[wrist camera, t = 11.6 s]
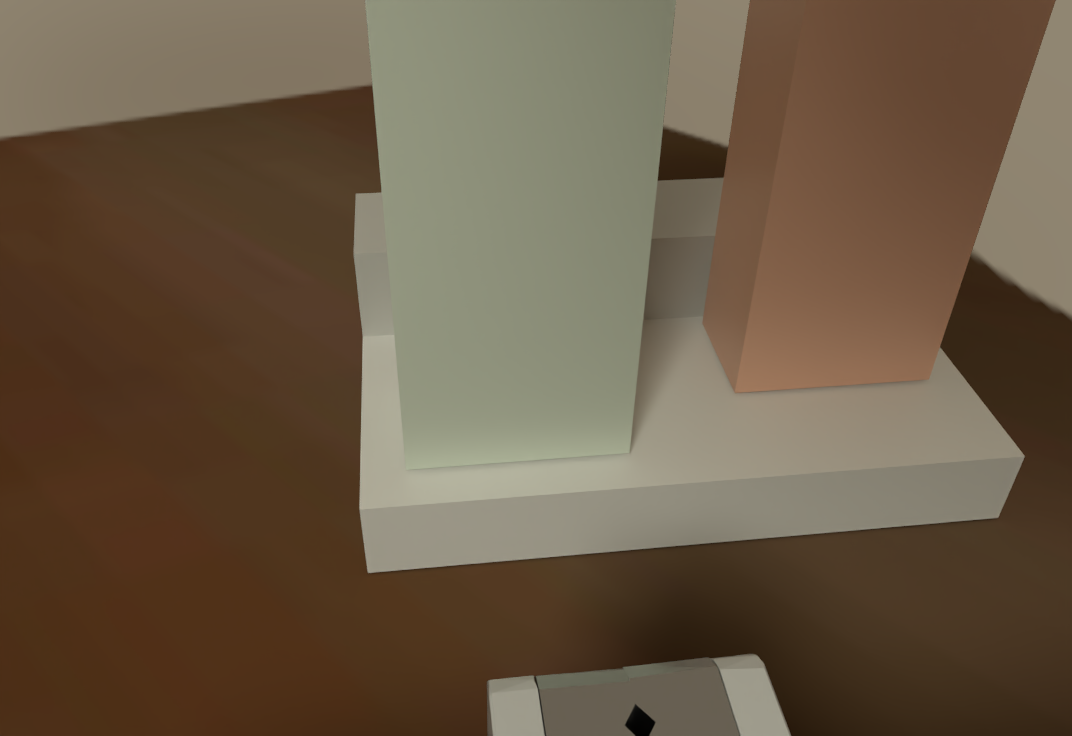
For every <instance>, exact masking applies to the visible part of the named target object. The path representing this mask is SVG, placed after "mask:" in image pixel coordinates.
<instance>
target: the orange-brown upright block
mask: <svg viewBox="0 0 1072 736" xmlns="http://www.w3.org/2000/svg"><path fill="white" fill-rule="evenodd" d="M1055 1H1056V0H750V4H749V10H748V17H747V25H746V31H745V38H744V45H743V52H742V58H741V65H740V71H739V78H738V85H737V92H736V98H735V105H734V112H733V119H732V126H731V132H730V139H729V146H728V153H727V159H726V166H725V173H724V180H723V186H722V193H721V200H720V207H719V213H718V220H717V227H716V234H715V241H714V247H713V254H712V261H711V268H710V274H709V281H708V288H707V295H706V301H705V308H704V315H703V322H702V324H703V326H704V328H705V330H706V332H707V334H708V336H709V339H710V341H711V343H712V345H713V347H714V349H715V352H716V354H717V356H718V358H719V360H720V362H721V364H722V367H723V369H724V371H725V373H726V375H727V377H728V379H729V382H730V384H731V386H732V388H733V390H734V392H735V393H742V392H757V391H771V390H785V389H800V388H814V387H828V386H843V385H857V384H872V383H886V382H900V381H915V380H929V378H930V375H931V372H932V369H933V366H934V363H935V360H936V357H937V354H938V351H939V348H940V345H941V342H942V339H943V336H944V333H945V330H946V327H947V324H948V321H949V318H950V315H951V312H952V309H953V306H954V303H955V300H956V297H957V294H958V291H959V288H960V285H961V282H962V279H963V276H964V273H965V270H966V267H967V264H968V261H969V258H970V255H971V252H972V249H973V246H974V243H975V240H976V237H977V234H978V231H979V228H980V225H981V222H982V219H983V216H984V213H985V210H986V207H987V204H988V201H989V198H990V195H991V192H992V189H993V186H994V183H995V180H996V177H997V174H998V171H999V168H1000V165H1001V162H1002V159H1003V156H1004V153H1005V150H1006V147H1007V144H1008V141H1009V138H1010V135H1011V132H1012V129H1013V126H1014V123H1015V120H1016V117H1017V114H1018V111H1019V108H1020V105H1021V102H1022V99H1023V96H1024V93H1025V90H1026V87H1027V84H1028V81H1029V78H1030V75H1031V73H1032V70H1033V66H1034V63H1035V60H1036V57H1037V55H1038V52H1039V49H1040V45H1041V42H1042V39H1043V36H1044V34H1045V31H1046V28H1047V25H1048V21H1049V18H1050V15H1051V13H1052V10H1053V7H1054V4H1055Z"/></svg>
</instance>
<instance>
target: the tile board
mask: <svg viewBox="0 0 1072 736" xmlns="http://www.w3.org/2000/svg"><path fill="white" fill-rule="evenodd" d="M723 180H724V178H708V179H685V180H662V181H657V190H656V200H655V209H654V219H653V229H652V239H651V248H650V258H649V268H648V278H647V287H646V297H645V307H644V317H643V326H642V336H641V346H640V356H639V365H638V375H637V385H636V395H635V404H634V414H633V424H632V434H631V443H630V453H623V454H609V455H596V456H583V457H570V458H557V459H544V460H530V461H517V462H504V463H491V464H478V465H464V466H451V467H438V468H425V469H412V470H406V465H405V453H404V442H403V430H402V419H401V407H400V396H399V384H398V373H397V361H396V350H395V338H394V327H393V315H392V304H391V292H390V281H389V269H388V258H387V246H386V235H385V223H384V212H383V200H382V193H364V194H356V205H355V232H354V261H355V270H356V279H357V288H358V297H359V306H360V315H361V324H362V333H363V358H362V410H361V462H360V517H361V524H362V532H363V539H364V547H365V555H366V562H367V570H368V573H373V572H384V571H396V570H407V569H418V568H430V567H441V566H453V565H464V564H476V563H487V562H498V561H510V560H521V559H533V558H544V557H556V556H567V555H578V554H590V553H601V552H613V551H624V550H636V549H647V548H659V547H670V546H681V545H693V544H704V543H716V542H727V541H739V540H750V539H761V538H773V537H784V536H796V535H807V534H819V533H830V532H842V531H853V530H864V529H876V528H887V527H899V526H910V525H922V524H933V523H944V522H956V521H967V520H979V519H990V518H998V517H999V515H1000V512H1001V510H1002V508H1003V505H1004V503H1005V501H1006V499H1007V496H1008V494H1009V492H1010V489H1011V487H1012V485H1013V483H1014V480H1015V478H1016V476H1017V473H1018V471H1019V469H1020V467H1021V464H1022V462H1023V460H1024V457H1025V456H1024V454H1023V453H1022V452H1021V451H1020V449H1019V448H1018V447H1017V445H1016V444H1015V443H1014V442H1013V440H1012V439H1011V438H1010V436H1009V435H1008V434H1007V433H1006V431H1005V430H1004V429H1003V427H1002V426H1001V425H1000V424H999V422H998V421H997V420H996V419H995V417H994V416H993V415H992V413H991V412H990V411H989V410H988V408H987V407H986V406H985V404H984V403H983V402H982V401H981V399H980V398H979V397H978V395H977V394H976V393H975V392H974V390H973V389H972V388H971V386H970V385H969V384H968V383H967V381H966V380H965V379H964V377H963V376H962V375H961V374H960V372H959V371H958V370H957V368H956V367H955V366H954V365H953V363H952V362H951V361H950V359H949V358H948V357H947V356H946V354H945V353H944V352H943V350H942V349H941V348H939V351H938V354H937V357H936V360H935V363H934V366H933V369H932V372H931V375H930V378H929V380H915V381H900V382H886V383H872V384H857V385H843V386H828V387H814V388H800V389H785V390H771V391H757V392H742V393H735V392H734V390H733V388H732V386H731V384H730V382H729V379H728V377H727V375H726V373H725V371H724V369H723V367H722V364H721V362H720V360H719V358H718V356H717V354H716V352H715V349H714V347H713V345H712V343H711V341H710V339H709V336H708V334H707V332H706V330H705V328H704V326H703V324H702V322H703V315H704V308H705V301H706V295H707V288H708V281H709V274H710V268H711V261H712V254H713V247H714V241H715V234H716V227H717V220H718V213H719V207H720V200H721V193H722V186H723Z"/></svg>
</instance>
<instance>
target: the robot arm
mask: <svg viewBox="0 0 1072 736" xmlns="http://www.w3.org/2000/svg"><path fill="white" fill-rule="evenodd" d="M487 725H488V736H791V734H790V731H789V728H788V726H787V723H786V720H785V718H784V715H783V712H782V710H781V707H780V704H779V702H778V699H777V696H776V694H775V691H774V688H773V686H772V683H771V680H770V678H769V675H768V672H767V670H766V667H765V665H764V663H763V662H762V661H761V659H760V658H759V657H758V656H757V655H755V654H745V655H736V656H728V657H719V658H710V659H709V657H707V658H698V659H690V660H681V661H673V662H664V663H655V664H647V665H638V666H629V667H623V668H622V669H621V668H620V669H609V670H598V671H587V672H576V673H565V674H553V675H542V676H535V677H534V676H524V677H515V678H505V679H495V680H488V681H487Z"/></svg>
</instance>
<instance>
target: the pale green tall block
mask: <svg viewBox="0 0 1072 736" xmlns="http://www.w3.org/2000/svg"><path fill="white" fill-rule="evenodd" d="M365 4H366V16H367V27H368V39H369V51H370V62H371V74H372V85H373V97H374V108H375V120H376V131H377V143H378V154H379V166H380V177H381V189H382V200H383V212H384V223H385V235H386V246H387V258H388V269H389V281H390V292H391V304H392V315H393V327H394V338H395V350H396V361H397V373H398V384H399V396H400V407H401V419H402V430H403V442H404V453H405V465H406V470H412V469H425V468H438V467H451V466H464V465H478V464H491V463H504V462H517V461H530V460H544V459H557V458H570V457H583V456H596V455H609V454H623V453H630V443H631V434H632V424H633V414H634V404H635V395H636V385H637V375H638V365H639V356H640V346H641V336H642V326H643V317H644V307H645V297H646V287H647V278H648V268H649V258H650V248H651V239H652V229H653V219H654V209H655V200H656V190H657V180H658V170H659V161H660V151H661V141H662V131H663V122H664V111H665V102H666V92H667V83H668V73H669V63H670V53H671V44H672V34H673V24H674V14H675V5H676V0H365Z"/></svg>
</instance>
